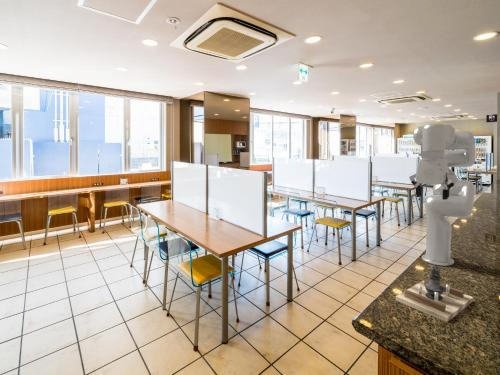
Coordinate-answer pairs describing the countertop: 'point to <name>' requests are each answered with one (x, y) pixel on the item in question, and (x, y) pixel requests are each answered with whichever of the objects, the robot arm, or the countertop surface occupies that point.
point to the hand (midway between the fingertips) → (431, 197)
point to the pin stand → (435, 301)
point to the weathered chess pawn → (434, 284)
